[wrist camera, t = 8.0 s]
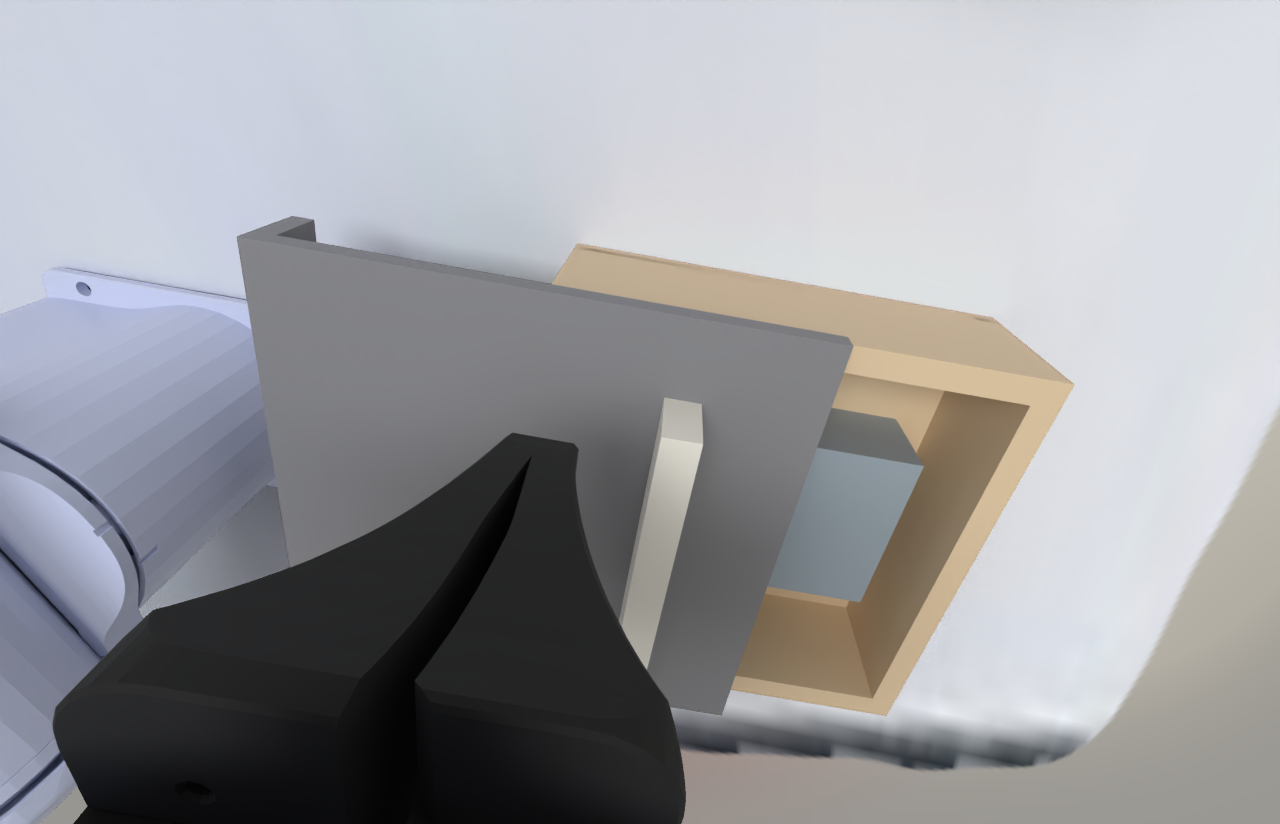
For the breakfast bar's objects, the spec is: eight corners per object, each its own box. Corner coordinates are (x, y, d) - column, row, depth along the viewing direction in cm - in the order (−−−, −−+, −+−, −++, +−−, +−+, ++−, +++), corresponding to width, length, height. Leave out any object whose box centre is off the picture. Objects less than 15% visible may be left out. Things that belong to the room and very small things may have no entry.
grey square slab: (335, 595, 24) (268, 694, 20) (292, 216, 17) (176, 258, 13) (718, 659, 24) (724, 770, 21) (833, 312, 17) (874, 382, 13)
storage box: (542, 559, 27) (514, 653, 23) (577, 243, 20) (546, 290, 16) (855, 613, 27) (886, 715, 23) (992, 317, 21) (1074, 384, 16)
